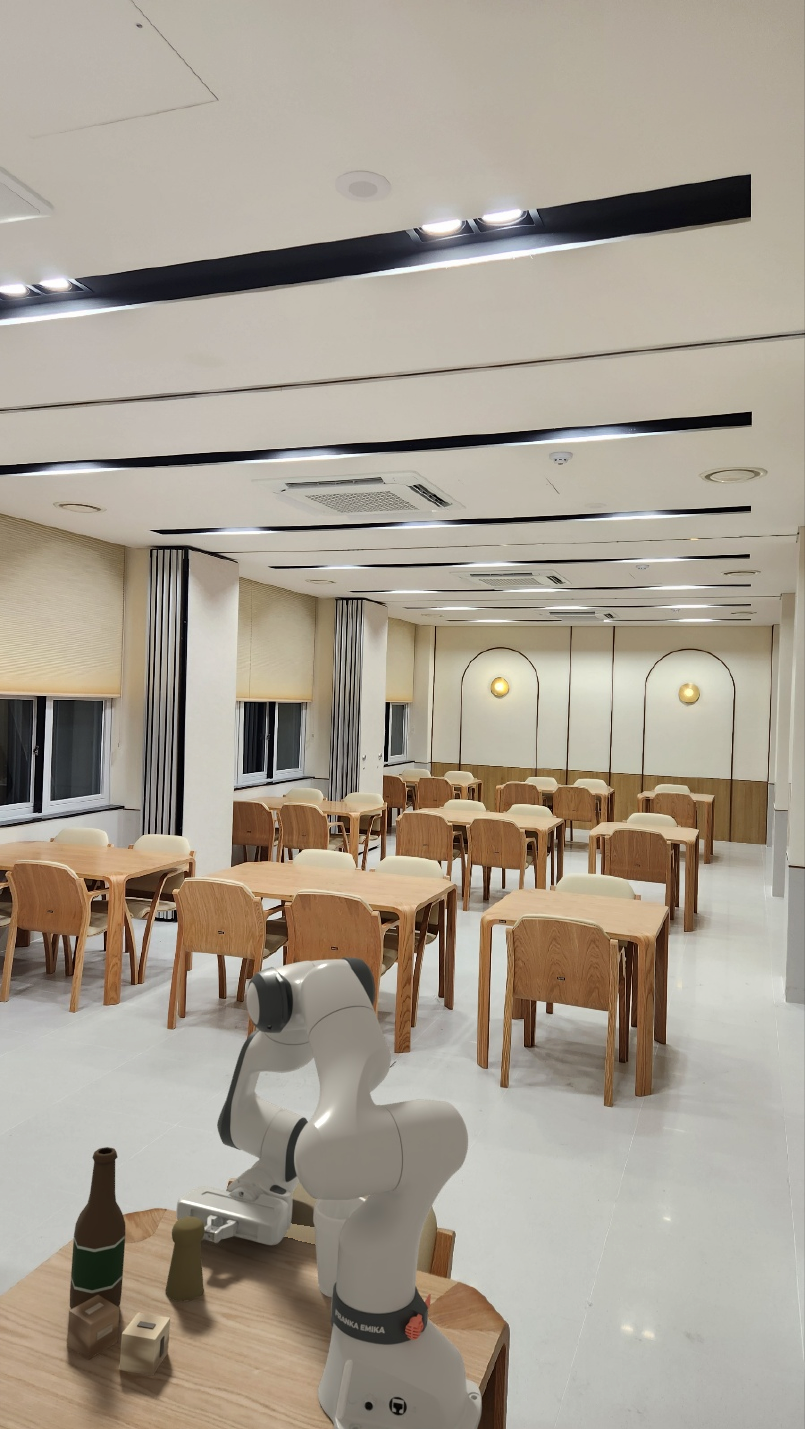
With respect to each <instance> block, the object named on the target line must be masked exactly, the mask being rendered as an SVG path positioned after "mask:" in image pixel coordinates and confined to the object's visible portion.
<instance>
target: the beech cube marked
mask: <svg viewBox="0 0 805 1429" xmlns="http://www.w3.org/2000/svg"><path fill="white" fill-rule="evenodd" d="M170 1328H171V1317H168V1316H167V1317H166V1316H161V1315H156V1314H149V1313H145V1312H144V1313H143V1312H140V1311H139V1312H137V1313H136V1314H135V1316H134V1317H133V1319H131V1320H130V1322H129V1324H128V1325H127V1326H126V1328H125V1329H124V1330H123V1331H122V1333H121V1341H120V1342H121V1343H120V1356H119V1367H118V1368H119V1369H118V1370H120V1371H124V1372H125V1371H126V1372H130V1373H135V1374H141V1375H147V1376H152V1377H153V1376H154V1374H155V1373H156V1372H157V1370H158V1368H159V1366H160V1365H161V1364H162V1362H163V1361H164V1359H165V1357H166V1356H167V1355H168V1353H169V1342H170Z"/></svg>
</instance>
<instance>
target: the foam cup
mask: <svg viewBox="0 0 805 1429" xmlns="http://www.w3.org/2000/svg"><path fill="white" fill-rule="evenodd" d="M366 1199H367V1198H364V1197H360V1198H355V1199H350V1200H324V1199H316V1201H315V1202H314V1203H315V1204H314V1206H313V1217H312V1218H313V1219H312V1222H313V1224H314V1236H315V1238H314V1240H315V1252H316V1254H315V1255H316V1267H317V1268H316V1271H317V1284H318V1289H319V1291H320V1293H321V1294H323V1295H325V1296H326V1297H328V1298H332V1295H333V1287H334V1284H335V1283H336V1282H337V1265H338V1247H339V1236H340V1232H341V1229H342V1227H343V1225H344V1223H345V1221H346V1220H347V1218H348V1217H349V1216H350V1215H351V1214H352V1213H353V1212H354V1211H355V1210H356V1209H357V1208H358V1207H359V1206H361V1205H362V1204H363V1203H364V1201H365V1200H366Z"/></svg>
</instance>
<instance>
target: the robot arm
mask: <svg viewBox="0 0 805 1429" xmlns="http://www.w3.org/2000/svg"><path fill="white" fill-rule="evenodd" d="M375 1001H376V983H375V979H374V974H373V971H372V970H371V968H370V966H369V965H368V964H367V962H365V961H364V960H363V959H362V958H358V957H348V956H347V957H342V958H340V959H339V958H337V959H335V958H334V959H318V960H316V959H315V960H303V961H297V962H293V963H289V964H285V965H282V966H278V967H273V966H270V967H267V968H265V969H262V970H260V971H257V972H256V973H254V974H253V975H252V977H251V979H250V980H249V982H248V986H247V993H246V1009H247V1013H248V1015H249V1018H250V1019H251V1022H252V1024H253V1026H254V1027H255V1028H256V1029H257V1030H253V1031H252V1032H251V1033H250V1034H249V1036H248V1037H247V1038H246V1040H245V1041H244V1043H243V1045H242V1047H241V1049H240V1052H239V1054H238V1057H237V1061H236V1064H235V1067H234V1071H233V1074H232V1078H231V1081H230V1086H229V1089H228V1093H227V1096H226V1100H225V1101H224V1103H223V1106H222V1109H221V1111H220V1113H219V1116H218V1119H217V1123H216V1124H217V1131H218V1132H217V1133H218V1135H219V1138H220V1140H221V1142H222V1144H223V1145H224V1146H227V1147H231V1148H234V1149H236V1150H239V1151H243V1152H245V1153H247V1154H249V1155H250V1156H254V1157H255V1158H258V1160H257V1161H256V1162H254V1163H253V1164H252V1166H251V1167H250V1168H248V1169H247V1170H245V1171H244V1172H242V1173H241V1174H240V1175H239V1176H238V1177H237V1178H236V1179H234V1180H232V1182H231V1183H229V1185H228V1186H227V1187H226V1190H224V1189H220V1188H215V1187H212V1186H207V1185H205V1186H198V1187H196V1188H194V1189H192V1190H190V1191H189V1192H186V1193H185V1194H184V1195H182V1196H181V1197H179V1198H178V1200H177V1202H176V1215H175V1216H176V1221H178V1220H179V1219H181V1218H184V1217H190V1216H191V1217H197V1218H199V1219H201V1221H202V1222H203V1224H204V1228H205V1233H204V1237H203V1239H202V1241H203V1240H204V1241H209V1242H212V1243H215V1244H218V1243H219V1242H220V1241H221V1240H224V1239H228V1238H232V1237H237V1238H240V1239H245V1240H248V1241H252V1242H254V1243H255V1242H256V1243H259V1244H263V1245H266V1246H275V1245H278V1244H279V1243H281V1241H282V1240H283V1239H284V1238H285V1237H286V1235H287V1233H288V1230H290V1228H291V1223H292V1218H293V1192H294V1190H296V1188H297V1187H298V1185H299V1184H300V1185H301V1187H302V1188H303V1190H304V1191H305V1192H306V1193H307V1194H308V1195H309V1196H310V1197H311V1198H313V1199H315V1200H318V1199H324V1200H350V1199H355V1198H360V1197H362V1198H364V1197H367V1198H365V1199H366V1200H365V1201H364V1203H363V1204H362V1205H361V1206H359V1207H358V1208H357V1209H356V1210H355V1211H354V1212H353V1213H352V1214H351V1215H350V1216H349V1217H348V1218H347V1220H346V1221H345V1223H344V1225H343V1227H342V1229H341V1232H340V1236H339V1247H338V1265H337V1282H336V1283H335V1284H334V1287H333V1295H332V1297H331V1304H330V1325H331V1327H332V1328H331V1329H332V1330H331V1336H330V1343H329V1349H328V1353H327V1359H326V1362H325V1366H324V1370H323V1373H322V1377H321V1378H320V1381H319V1383H318V1389H317V1397H318V1401H319V1403H320V1406H321V1407H322V1410H323V1411H324V1413H326V1415H327V1416H328V1418H330V1419H331V1421H332V1424H333V1427H334V1429H478V1427H479V1425H480V1421H481V1417H482V1409H483V1406H482V1405H483V1404H482V1402H483V1401H482V1394H481V1390H480V1389H479V1388H480V1387H479V1385H478V1384H477V1383H476V1382H474V1381H472V1380H470V1379H468V1378H467V1375H466V1367H465V1362H464V1358H463V1356H462V1353H461V1352H460V1350H459V1349H458V1347H457V1346H455V1345H454V1344H453V1343H452V1342H451V1340H449V1338H447V1337H446V1336H445V1334H443V1332H441V1331H440V1330H439V1329H438V1328H437V1327H436V1325H434V1323H433V1322H431V1321H430V1320H429V1308H430V1306H431V1297H432V1294H431V1293H429V1294H428V1295H427V1297H426V1299H425V1301H424V1298H422V1296H421V1294H420V1293H419V1290H418V1288H417V1285H416V1282H417V1270H418V1269H417V1268H418V1261H419V1260H418V1259H419V1250H420V1243H421V1242H420V1241H421V1237H422V1234H423V1229H424V1226H425V1224H426V1221H427V1218H428V1216H429V1213H430V1211H431V1209H432V1208H433V1205H434V1203H435V1201H436V1199H437V1197H438V1196H439V1194H440V1193H441V1191H442V1189H443V1188H444V1187H445V1185H446V1183H447V1182H448V1181H449V1180H450V1179H451V1178H452V1177H453V1176H454V1175H455V1174H456V1173H457V1172H458V1171H459V1170H460V1169H461V1168H462V1166H463V1165H464V1162H465V1160H466V1158H467V1154H468V1150H469V1135H468V1129H467V1126H466V1123H465V1121H464V1118H463V1117H462V1115H461V1113H460V1112H459V1111H458V1109H456V1107H455V1106H454V1105H453V1104H451V1103H450V1102H449V1101H441V1100H434V1099H433V1100H431V1099H412V1100H406V1101H401V1102H400V1101H399V1102H393V1103H387V1104H382V1105H381V1104H376V1103H375V1102H374V1100H373V1098H372V1096H371V1093H372V1092H373V1091H374V1090H375V1089H376V1088H378V1086H380V1085H381V1083H382V1082H384V1081H385V1079H386V1077H387V1075H388V1074H389V1071H390V1067H391V1063H392V1060H391V1059H392V1058H391V1050H390V1049H389V1046H388V1043H387V1041H386V1037H385V1035H384V1033H383V1030H382V1027H381V1025H380V1021H379V1019H378V1017H377V1013H376V1012H375V1011H376V1010H375V1009H374V1005H375ZM313 1059H314V1063H315V1068H316V1072H317V1076H318V1077H317V1078H318V1082H319V1096H318V1098H319V1099H318V1103H317V1106H316V1109H315V1111H314V1113H313V1115H312V1116H311V1118H310V1119H309V1121H308V1119H307V1118H306V1117H304V1116H302V1115H300V1114H298V1113H295V1112H293V1111H291V1110H289V1109H287V1108H283V1107H282V1106H279V1105H276V1104H274V1103H271V1102H270V1101H267V1100H265V1099H263V1098H261V1097H260V1096H259V1095H258V1094H257V1093H256V1091H255V1090H256V1086H257V1084H258V1079H259V1076H260V1073H261V1072H270V1073H281V1074H283V1073H290V1072H294V1071H297V1070H299V1069H301V1068H303V1067H305V1066H306V1065H308V1064H309V1063H310V1062H311V1061H312V1060H313Z"/></svg>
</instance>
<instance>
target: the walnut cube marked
mask: <svg viewBox="0 0 805 1429" xmlns="http://www.w3.org/2000/svg"><path fill="white" fill-rule="evenodd" d="M119 1320H120V1306H119V1307H117V1306H116V1305H114V1304H112V1303H111V1302H109V1301H108V1300H106V1299H104V1298H103V1297H101V1296H99V1295H97V1296H95V1297H93V1298H91V1299H89V1300H87V1301H86V1302H84V1303H82V1304H80V1305H78V1306H77V1307H75V1308H73V1309H71V1308H70V1309H69V1310H68V1321H67V1339H66V1346H67V1347H69V1348H70V1349H71V1350H73V1351H74V1352H76V1353H77V1354H79V1355H80V1356H81V1357H83V1358H85V1359H86V1360H88V1361H89V1360H91V1359H92V1358H94V1357H96V1356H97V1355H99V1354H100V1353H102V1352H103V1351H105V1350H107V1349H108V1348H110V1347H112V1346H114V1345H115V1344H116V1343H118V1336H119V1335H118V1334H119V1322H120V1321H119Z"/></svg>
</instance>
